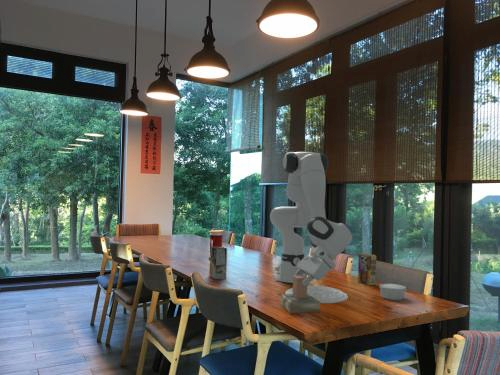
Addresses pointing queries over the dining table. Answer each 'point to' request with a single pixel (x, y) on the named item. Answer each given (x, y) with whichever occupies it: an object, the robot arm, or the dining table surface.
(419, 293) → the dining table surface
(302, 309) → the base block
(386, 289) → the ramekin
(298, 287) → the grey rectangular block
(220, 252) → the coffee box
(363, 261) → the candy box
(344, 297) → the ceiling medallion
